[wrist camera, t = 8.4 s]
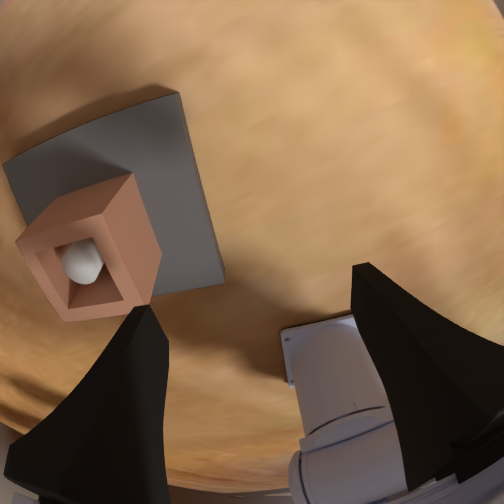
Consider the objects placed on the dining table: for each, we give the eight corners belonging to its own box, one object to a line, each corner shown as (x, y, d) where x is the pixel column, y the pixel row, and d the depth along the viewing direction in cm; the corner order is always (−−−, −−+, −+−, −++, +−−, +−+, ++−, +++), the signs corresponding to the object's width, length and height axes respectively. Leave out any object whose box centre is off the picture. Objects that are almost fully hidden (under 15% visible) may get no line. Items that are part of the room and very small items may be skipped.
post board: (224, 269, 21) (227, 335, 16) (80, 295, 21) (55, 353, 16) (179, 92, 14) (156, 102, 9) (14, 157, 15) (-41, 194, 10)
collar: (162, 253, 18) (147, 311, 14) (89, 269, 18) (64, 322, 14) (133, 172, 15) (102, 213, 11) (56, 197, 15) (14, 241, 11)
